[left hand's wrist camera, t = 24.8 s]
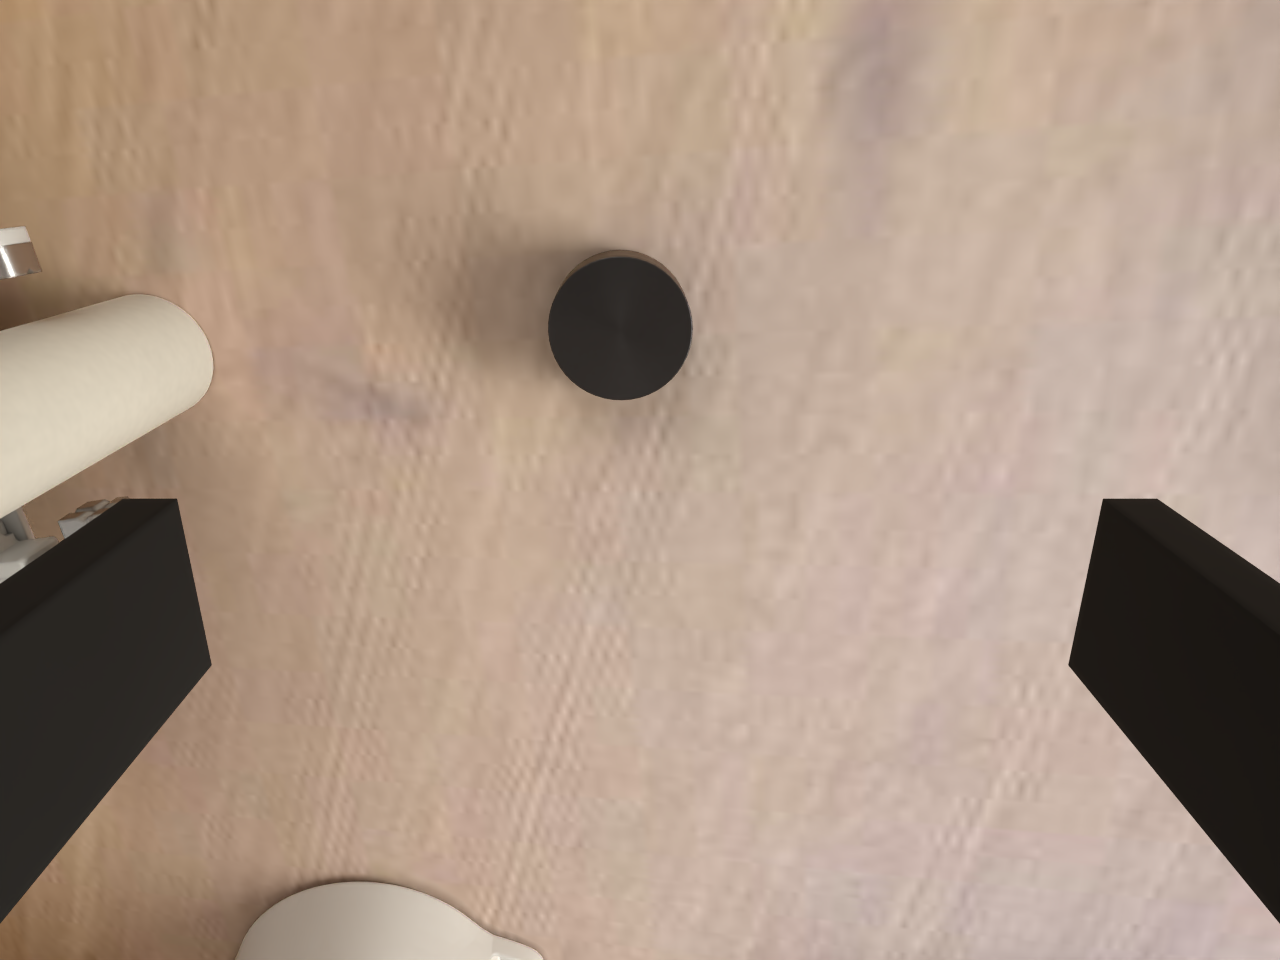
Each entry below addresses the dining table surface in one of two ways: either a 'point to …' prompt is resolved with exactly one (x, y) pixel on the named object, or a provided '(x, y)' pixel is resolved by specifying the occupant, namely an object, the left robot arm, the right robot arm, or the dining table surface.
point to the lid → (620, 325)
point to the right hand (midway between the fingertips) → (79, 394)
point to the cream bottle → (92, 387)
